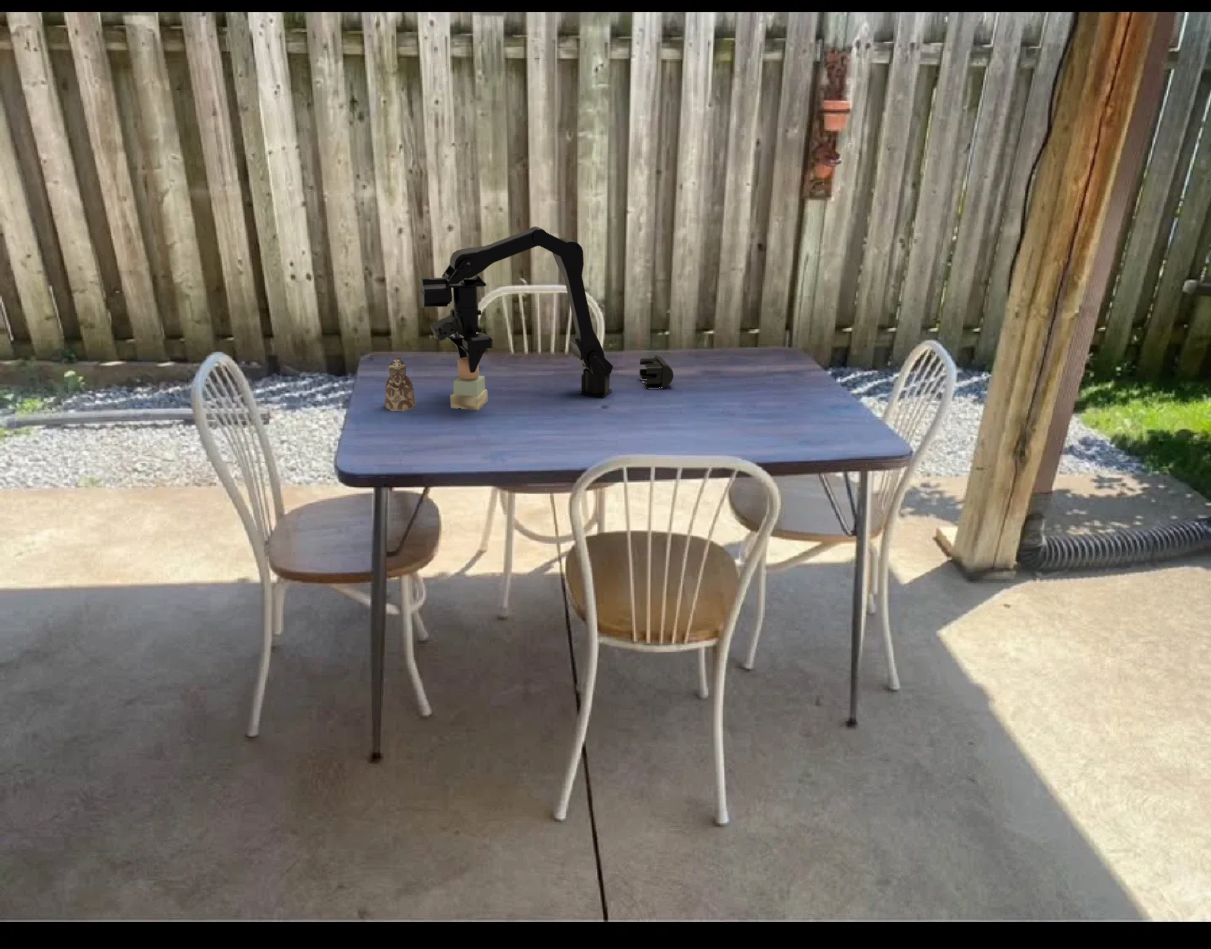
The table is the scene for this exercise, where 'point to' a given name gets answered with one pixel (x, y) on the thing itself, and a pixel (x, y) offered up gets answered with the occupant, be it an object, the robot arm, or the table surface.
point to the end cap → (655, 372)
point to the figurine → (399, 388)
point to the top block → (469, 386)
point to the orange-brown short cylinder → (466, 369)
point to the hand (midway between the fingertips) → (468, 369)
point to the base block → (469, 401)
